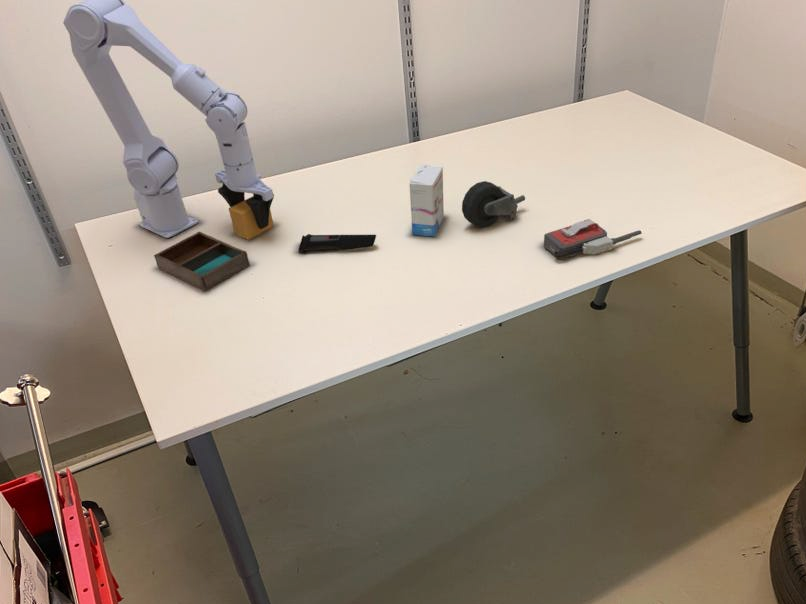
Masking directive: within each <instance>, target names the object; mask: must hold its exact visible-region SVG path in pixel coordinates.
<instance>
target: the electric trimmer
mask: <svg viewBox="0 0 806 604" xmlns="http://www.w3.org/2000/svg"><path fill="white" fill-rule="evenodd" d="M376 238H377V234H310V233H308V234H306V235H302V237H301V239H300V243H299V246H298V250H297V251H298V252H301V253H305V251H312V250H313V251H314V250H335V249H338V250H341V251H350V250H357V249H365V248H373V247H374V245H375V242H376Z"/></svg>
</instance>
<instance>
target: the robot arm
mask: <svg viewBox="0 0 806 604" xmlns="http://www.w3.org/2000/svg"><path fill="white" fill-rule="evenodd" d="M62 23H63V26H64V27H65V29H66V31H67V32H68V35H69V40H70V46H71V52H72V55H73V57H74V58H75V61H76V62H77V63H78V64H77V65H78V66H79V67H80V69H81V71H82V73H83V74H84V77H85V79H86V80H87V82H88V83H89V85H90V87H91V89H92V92H94V95H95V97H96V98H97V100H98V101H99V103H100V105H101V106H102V109H103V111H104V113H105V114H106V116H107V118H108V119H109V121H110V123H111V125H112V126H113V128H114V130H115V132H116V134H117V136H119V139H120V141H121V143H122V144H123V146H124V150H123V156H122V163H123V165H124V168H125V169H126V174H127V180H128V183H129V184H130V185H131V187H132V188H133V189H134V190H133V198H134V201H135V204H136V206H137V207H136V208H137V210H138V212H139V216H140V217H141V218H140V219H141V222H139V226H140V227H141V228H144V229H146V230H148V231H150V232H152V233H154V234H157V235H159V236H161V237H163V238H166V239H169V238H171V237H174V236H175V235H177V234H179V233H181V232H183V231H185V230H187V229H189V228H191V227H192V226H195V225H197V224H198V223H199V220H197V219H196V218H193V217H191V216H188V212H187V210H186V207H185V203H184V200H183V197H182V194H181V190H180V186H179V184H178V180H177V179H178V178H177V174H176V173H177V172H178V171H179V168H180V167H179V166H180V164H179V159H178V158H177V156H176V154H174V152H173V151H172V150H170V149H169V148H168V146H167V145H166V143H165V141H164V139H162V138H160V137H158V136H156V135H153V134H152V132H151V131H150V129H149V127H148V125H147V123H146V121H145V119H144V117H143V115H142V114H141V112H140V110H139V108H138V106H137V104H136V103H135V100H134V99H133V97H132V94H131V93H130V91H129V89H128V87H127V86H126V84H125V81H124V80H123V78H122V76H121V74H120V72H119V71H118V70H119V69H117V66H116V65H115V63H114V61H113V59H112V57H111V55H110V51H111V49H112V47H130V48H131V49H132V50H134V51H135V52H136V53H137V54H139V55H140V56H142V57H143V58H144V59H146V60H147V61H148V62H150V63H151V64H152V65H154V66H155V67H156V68H158V69H159V70H160V71H161V72H163V73H164V74H165V75H166V76H168V77H169V78H170V80H171V84H172V87H173V90H175V91H176V92H177V93H178V94H179V95H180V96H182V97H183V98H184V99H185V100H186V101H187V102H189V103H190V104H191V105H192V106H193V107H195V108H196V109H197V110H198V111H200V113H202V114H203V115H204V116H206V118H205V123H206V125H207V126H208V128H209V130H211V131H212V132H213V133H214V135H215V139H216V141H217V145H218V149H219V152H220V158H221V160H222V161H221V162H222V164H223V168H224V169H221V170H220V171H217V172H216V173H214V176H215V180H216V183H218V184H222V186H221V187H219V188H218V189H217V192H218V194H219V195H220V196H221V197H222V198H223V199H224V201H225V202H226V203H227V204H228V206H229V208H231V207H233V206H235V205H237V204H239V203H241V202H242V201H244V200H245V201H246V203H247V204H248V206H249V207H250V208H251V210H252V212H253V214H254V217H255V220H256V223H257V225H258V227H259V228H260V229H263V228H265V227H267V226H268V225H269V212H270V210H271V208H272V207H271V206H272V203H273V200H274V198H275V194H274V192H273V188H272V187H269V186H268V185H267V184H265V183H264V181H263V180H261V179H262V174H260V173H259V172H257V171H256V165H255V161H254V155H253V152H252V147H251V143H250V138H249V134H248V130H247V125H246V122H245V120H246V118H247V117H248V106H247V104H246V102H245V101H244V100H243V98H242V97H241V96H240V94H238V93H236V92H233V91H228V90H226V89H224V88H222V87H220V85H218V84H217V83H216V82H215V81H214V80H213V79H211V78H210V77H209V76H208V75H207V74H206V70H205V69H203V68H202V67H201V66H199V67H198V66H197V65H195V63H185V62H183V61H182V60H180V58H178V56H176V55H175V54H174V53H173V51H171V50H170V49H169V48H168V46H166V45H165V44H164V43H163V42H162V41H161V40H160V38H158V37H157V36H156V35H155V34H154V33H153V32H152V31H151V30H150V29H149V28H148V27H147V26H146V25H145V24H144V23H143V22H142V21H141V20H140V18H139V17H138V15H137V13H136V11H135V9H134V8H133V7H132V6H130V5H129V4H127V3H126V2H125V1H124V0H82V1H81V2H77V3H74V4H72V5H71V6H69V8H68V9H67V12H66V14H65V17H64V20H63V22H62ZM246 194H252V196H254V197H252V196H250V197H251V198H250V197H248V198H249V199H248V198H246V197H245V195H246ZM245 198H246V199H247V200H246V199H245Z"/></svg>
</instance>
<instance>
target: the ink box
mask: <svg viewBox="0 0 806 604" xmlns="http://www.w3.org/2000/svg"><path fill="white" fill-rule="evenodd" d="M409 181H410V182H409V199H410V215H411V216H410V218H411V234H412V235H415V236H424V237H433V238H434V237H435V236H436V234H437V232H438V230H439V228H440V226H441V224H442V222H443V220H444V218H445V211H444V210H445V209H444V168H443V167H442V166H435V165H428V164H419V165H418V167H417V169H416V170H415V171H414V174H413V175H412V176H411V178H409Z"/></svg>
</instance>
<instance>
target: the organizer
mask: <svg viewBox="0 0 806 604" xmlns="http://www.w3.org/2000/svg"><path fill="white" fill-rule="evenodd" d="M153 257H154V260H155V263H156V266H157V269H158V270H160V271H162V272H165V273H167V274H169V275H171V276H173V277H175V278H177V279H179V280H181V281H183V282H185V283H187V284H189V285H191V286H193V287H195V288H197V289H199V290H201V291H203V292H207V291H209V290H210V289H212V288H214V287H215V286H218V284H221V283H222V282H224V281H226V280H227V279H229V278H231V277H233V276H235V274H238V273H239V272H241V271H242V270H245V269H246V268H248V267H249V266H250V261H249V257H248V253H247V251H245V250H242V249H241V248H238V247H236V246H234V245H232V244H229V243H227V242H225V241H223V240H220V239H217V238H215V237H213V236H210V235H208V234H206V233H204V232H202V231H197V232H196V233H193V234H192V235H190V236H188V237H186V238H184V239H182V240H180V241H178V242H177V243H174V244H173V245H171V246H169V247H167V248H164V249H163V250H161V251H159V252H158V253H156V254H154V255H153Z"/></svg>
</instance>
